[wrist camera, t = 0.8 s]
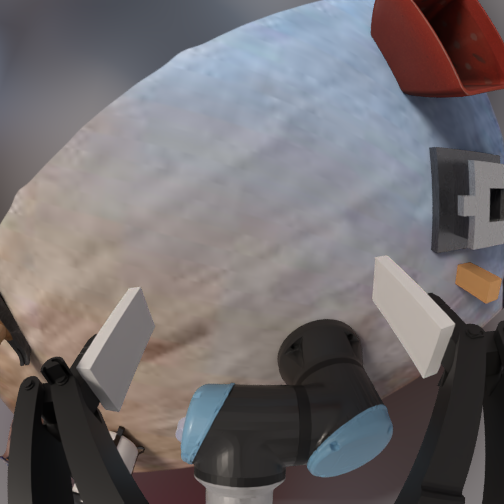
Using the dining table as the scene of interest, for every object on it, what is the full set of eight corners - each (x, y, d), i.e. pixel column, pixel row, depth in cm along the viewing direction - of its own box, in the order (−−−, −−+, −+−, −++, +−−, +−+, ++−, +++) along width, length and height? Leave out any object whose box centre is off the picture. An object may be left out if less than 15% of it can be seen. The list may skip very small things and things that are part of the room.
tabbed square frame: (492, 239, 41) (519, 250, 33) (431, 249, 41) (460, 264, 33) (493, 155, 36) (521, 156, 28) (429, 147, 36) (461, 145, 28)
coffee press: (151, 437, 53) (125, 533, 24) (139, 458, 57) (116, 537, 28) (90, 406, 51) (45, 494, 22) (86, 431, 54) (51, 505, 25)
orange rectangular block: (467, 280, 43) (497, 298, 33) (455, 283, 43) (485, 303, 33) (470, 262, 42) (501, 278, 32) (457, 264, 42) (490, 282, 32)
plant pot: (419, 15, 28) (465, -18, 12) (463, 98, 33) (524, 86, 17) (344, 20, 30) (383, -34, 14) (397, 116, 35) (465, 96, 19)
